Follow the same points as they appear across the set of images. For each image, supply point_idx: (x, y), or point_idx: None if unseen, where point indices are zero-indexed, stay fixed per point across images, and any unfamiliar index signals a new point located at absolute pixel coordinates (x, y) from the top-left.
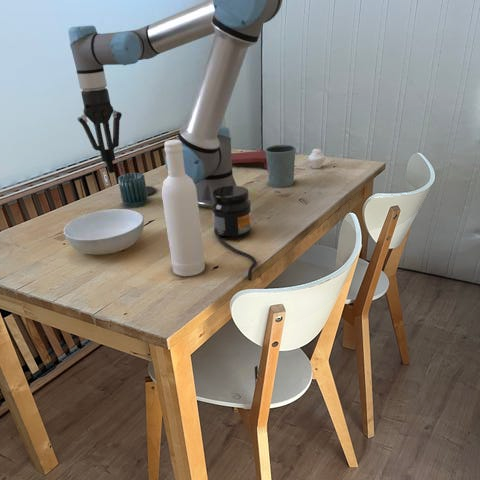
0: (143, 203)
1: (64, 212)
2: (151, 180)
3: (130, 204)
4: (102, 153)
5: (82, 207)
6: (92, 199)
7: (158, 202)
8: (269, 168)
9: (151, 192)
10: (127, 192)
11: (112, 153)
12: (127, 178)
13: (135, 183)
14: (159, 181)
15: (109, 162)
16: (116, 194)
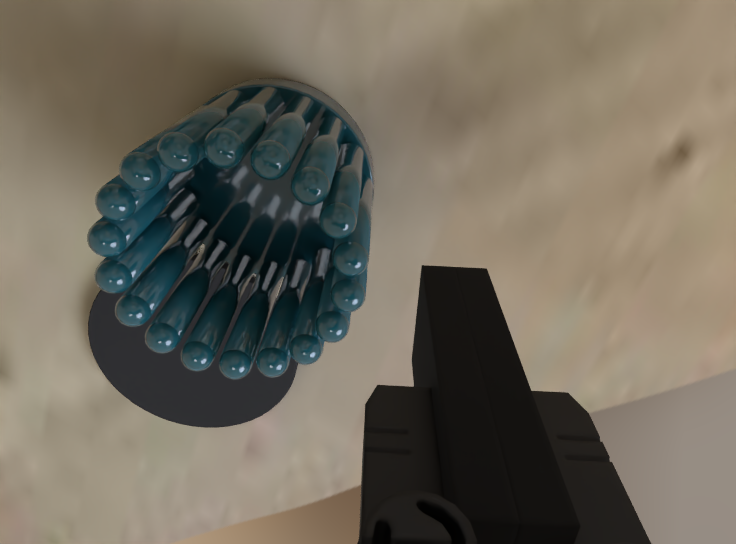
0: (235, 86)
1: (727, 317)
2: (88, 483)
3: (338, 111)
4: (620, 526)
5: (599, 329)
6: None
7: (116, 75)
8: None
9: None
10: (334, 142)
11: (398, 484)
12: (256, 340)
13: (228, 120)
14: (44, 445)
15: (489, 352)
16: (337, 404)
